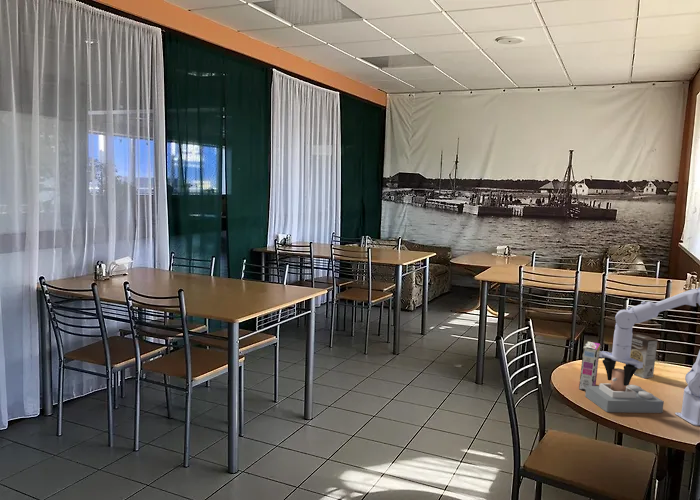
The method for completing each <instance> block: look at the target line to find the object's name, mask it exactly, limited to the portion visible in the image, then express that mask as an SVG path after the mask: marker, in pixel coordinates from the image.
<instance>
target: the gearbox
mask: <svg viewBox="0 0 700 500" xmlns="http://www.w3.org/2000/svg"><path fill="white" fill-rule="evenodd" d="M610 387H611V383H605V382H604V383H602V382H601V383H599V385H595V386H586V391H585V394H584V396H585V398H586V399H588V400H589V401H590V402H592V403H593V404H594V405H596V406H597V407H598V408H600V409H601V410H603V411H604V412H606V413H635V414H636V413H639V414H640V413H643V414H645V413H652V414H662V413H664V412H663V410H664V400H662V399H661V398H659V397H657V396H655V395H654V394H653V393H651V392H648V391H646V390H645V389H643V388H642V387H641V386H640V385H639V386H638V385H637V384H629V385H627V386H626V391H613V390H611V389H610Z"/></svg>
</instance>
